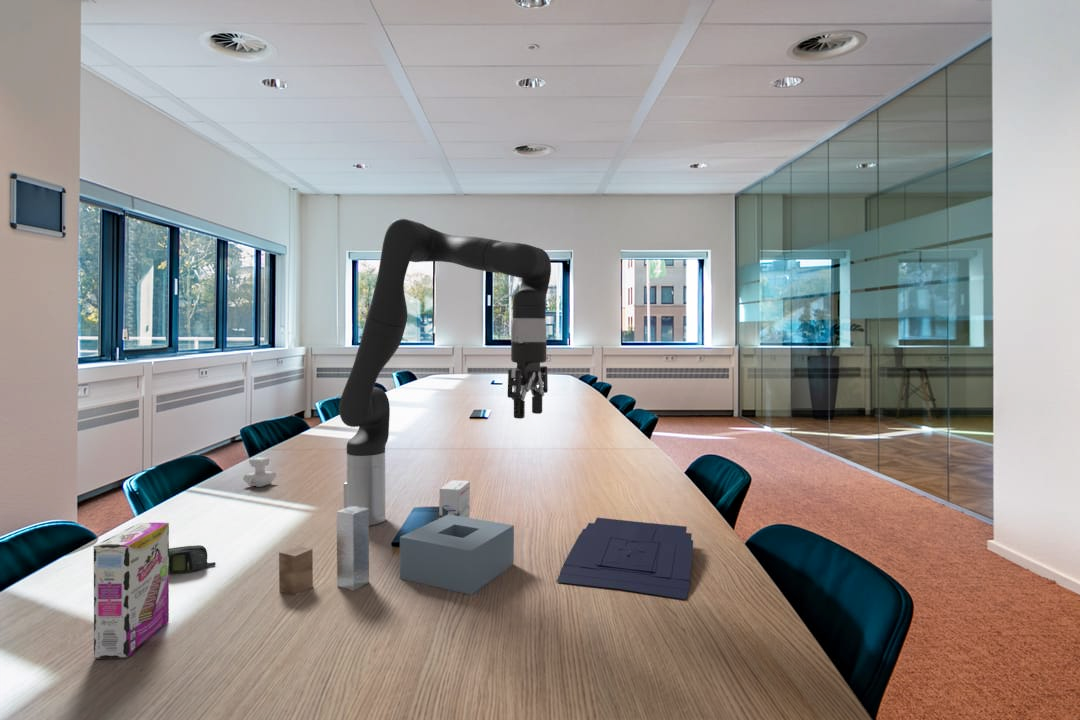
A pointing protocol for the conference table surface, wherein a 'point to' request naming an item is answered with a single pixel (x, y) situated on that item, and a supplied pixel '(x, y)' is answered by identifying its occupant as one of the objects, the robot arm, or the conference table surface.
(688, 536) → the navy flat slab
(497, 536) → the hole block
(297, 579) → the short walnut pin
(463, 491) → the ink box
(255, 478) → the stamp
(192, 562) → the mobile phone
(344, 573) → the long steel pin
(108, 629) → the candy bar box
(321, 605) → the conference table surface
